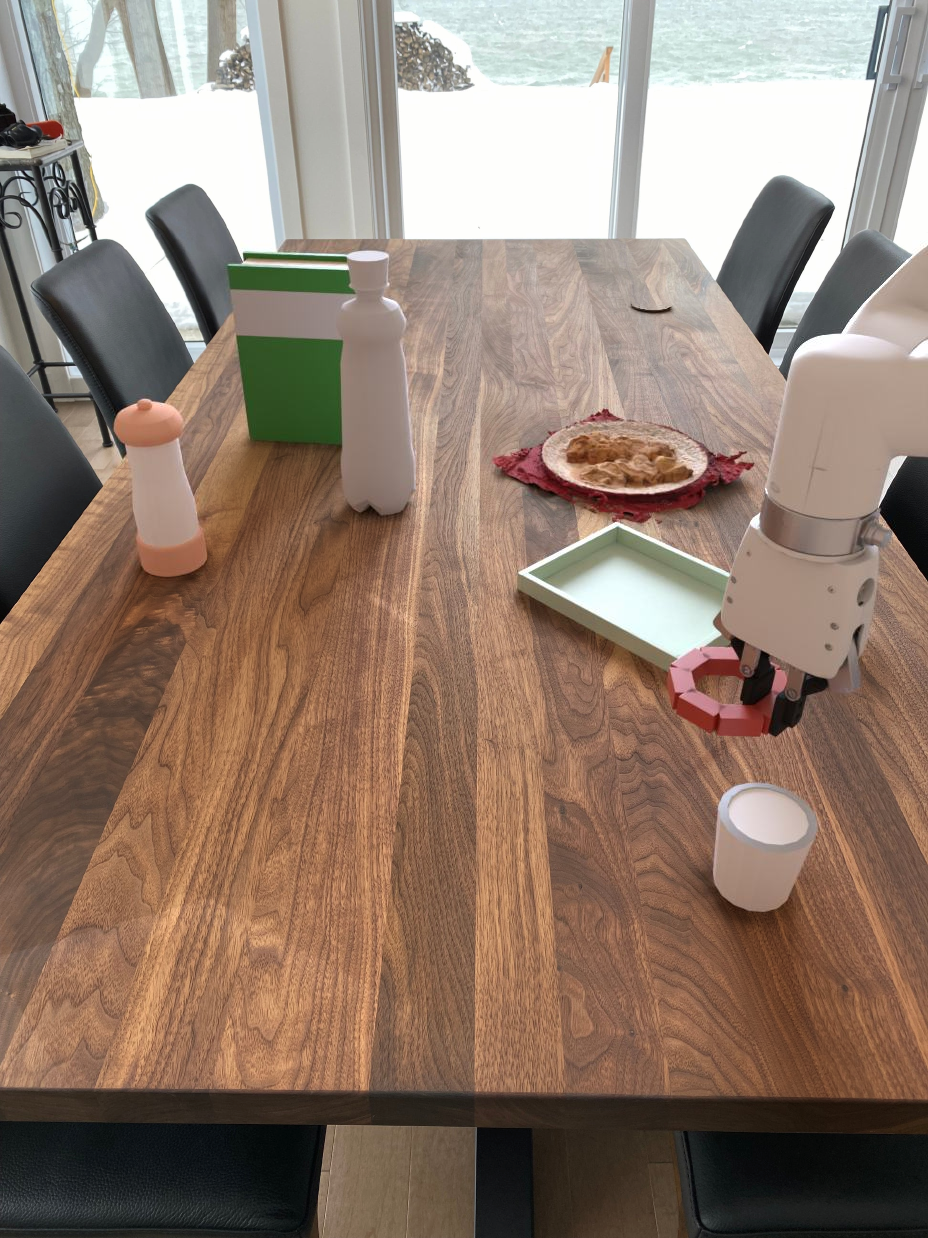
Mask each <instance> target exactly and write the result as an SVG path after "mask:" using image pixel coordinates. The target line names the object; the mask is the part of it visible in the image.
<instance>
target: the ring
mask: <svg viewBox="0 0 928 1238" xmlns="http://www.w3.org/2000/svg"><path fill="white" fill-rule="evenodd" d="M740 663H741V662H740V660H739V658H738V656H737V655H736V653H735V651H734V649H733V647H732V646H731V647H729V646H726V647H700V650H698V649H696V648H694V649H692V650H691V651H689V652H688V653H686V654H685V655H683V656H682V657H680V658H679V659H677V660H676V661H674V662H673V663H671V667H670V668H669V673H668V672H667V680H666V688H667V691H668V696H669V700H670V701H669V702H670V705H671V709H672V710H675V714H676V715H677V716H679V717H681V718H683V719H684V720H686V721H688V722H689V723H691V724H693V725H694V726H696V727H698V728H699V729H700V730H701V729H702V730H703V731H705V732H706V733H708V734H712V733H714V732H715V733H716V735H717V737H721V736H722V737H745V738H747V737H748V738H749V737H751V738H761V735H762V734H763V735H765V736H768V735H770V734H769V728H770V724H771V720H772V712H773V707H774V703H775V699H776V696H777V695H778V694H779V693H780V692H782V691H783V690H784V689H785V686H786V683H787V679H788V674H787V673H786V670H782V669H781V666H780V665H778V664H776V663H774V662H772V661H771V662H770V664H772V665H774V666H775V670H776V673H775V677H774V682H773V686H772V690H771V691H770V693H769V694H768V695H767V696H765V697H764V698H763V699H761V700H760V701H759V702H757V703H756V704H755V705H742V704H725V703H724V704H723V703H721V702H719V701H717V700H715V699H714V698H712V697H710V696H709V695H707V694H704V693H703V692H701V691H699V690H697V687H696V683H698V682H699V681H700V680H702V679H703V678H705V677H706V676H707V677H709V676H711V677H712V676H713V677H736V678H738V679H740V680H742V681H743V682H744V677H745V676H744V675H743V674H742V673H741V672H740Z"/></svg>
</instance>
